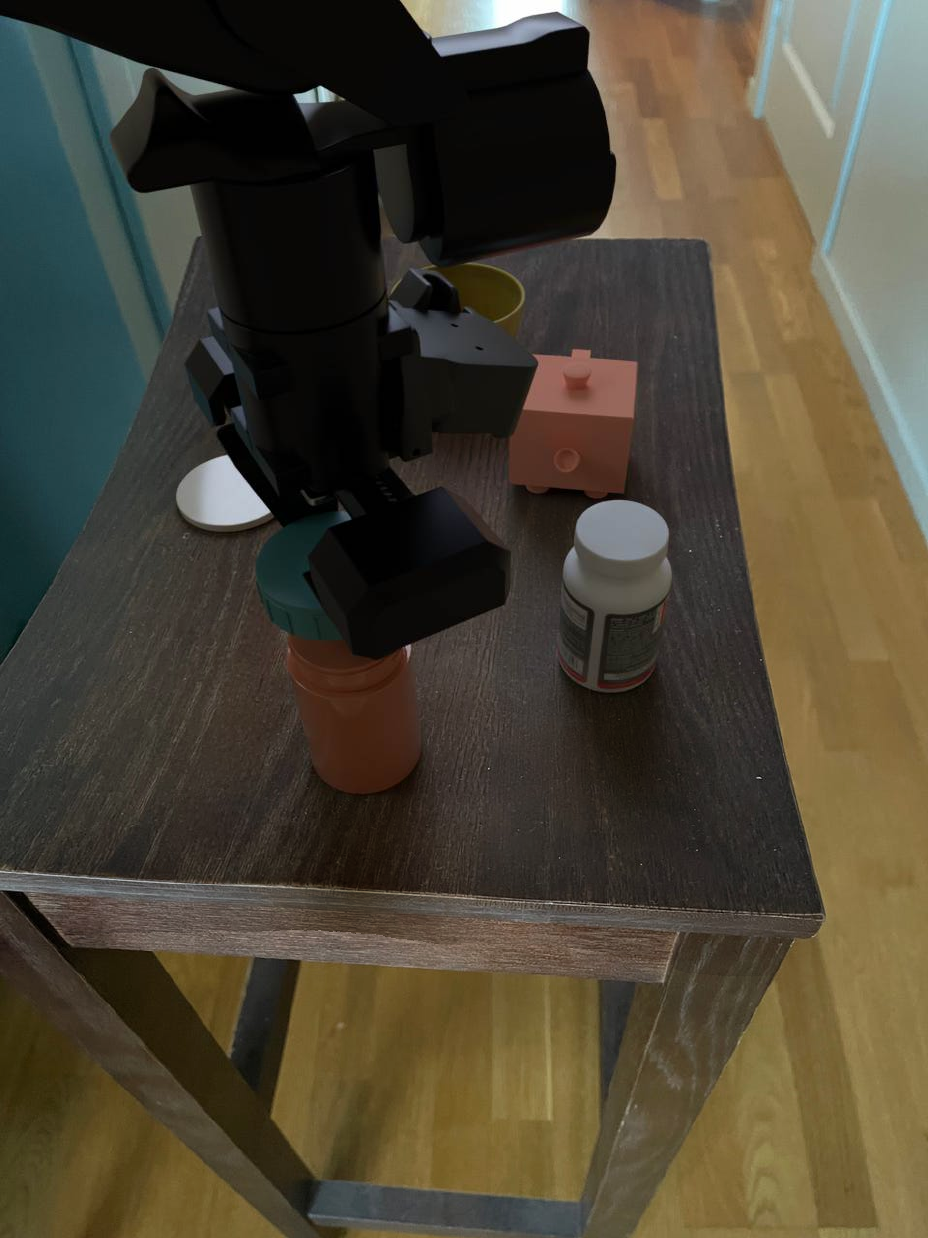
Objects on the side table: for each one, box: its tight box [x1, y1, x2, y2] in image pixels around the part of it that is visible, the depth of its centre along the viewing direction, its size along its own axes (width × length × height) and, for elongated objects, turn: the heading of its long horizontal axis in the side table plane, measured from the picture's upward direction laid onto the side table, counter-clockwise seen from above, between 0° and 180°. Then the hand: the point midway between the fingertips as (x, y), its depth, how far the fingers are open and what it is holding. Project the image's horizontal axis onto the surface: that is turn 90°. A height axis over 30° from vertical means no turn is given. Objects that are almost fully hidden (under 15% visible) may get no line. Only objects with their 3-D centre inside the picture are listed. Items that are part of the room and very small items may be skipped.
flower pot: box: [390, 262, 526, 340], centre depth 71 cm, size 10×10×7 cm
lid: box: [254, 510, 351, 641], centre depth 40 cm, size 7×7×2 cm
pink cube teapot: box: [508, 348, 639, 499], centre depth 62 cm, size 8×12×8 cm, turn 171°
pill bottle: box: [557, 499, 673, 693], centre depth 49 cm, size 6×6×10 cm
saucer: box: [175, 454, 275, 533], centre depth 64 cm, size 8×8×1 cm
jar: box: [285, 633, 423, 795], centre depth 46 cm, size 6×6×10 cm
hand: (354, 608), depth 42 cm, fingers closed on lid, 6 cm apart
